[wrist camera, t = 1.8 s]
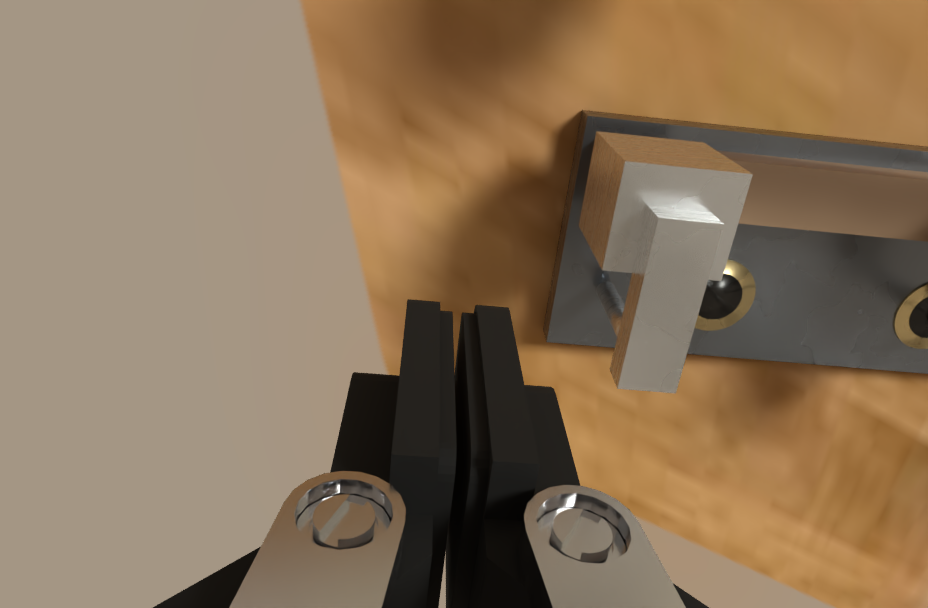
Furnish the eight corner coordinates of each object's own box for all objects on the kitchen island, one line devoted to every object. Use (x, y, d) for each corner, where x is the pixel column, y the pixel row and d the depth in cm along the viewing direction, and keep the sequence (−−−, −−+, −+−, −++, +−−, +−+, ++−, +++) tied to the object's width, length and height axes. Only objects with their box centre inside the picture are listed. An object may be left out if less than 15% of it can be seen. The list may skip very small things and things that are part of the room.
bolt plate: (989, 367, 33) (1010, 382, 32) (543, 329, 31) (546, 343, 30) (1094, 164, 29) (1123, 173, 27) (581, 110, 27) (588, 116, 26)
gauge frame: (1022, 332, 31) (1187, 434, 24) (567, 292, 29) (603, 389, 22) (1101, 182, 28) (1316, 250, 21) (597, 130, 26) (650, 184, 19)
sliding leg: (648, 304, 29) (704, 395, 23) (557, 296, 29) (587, 386, 22) (691, 134, 26) (769, 185, 20) (589, 123, 26) (634, 171, 19)
